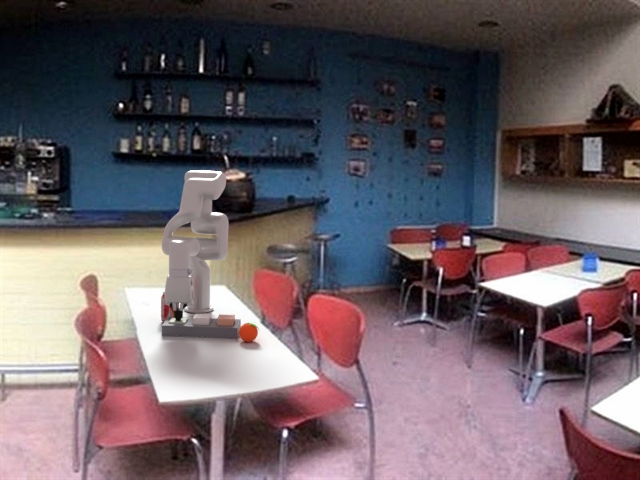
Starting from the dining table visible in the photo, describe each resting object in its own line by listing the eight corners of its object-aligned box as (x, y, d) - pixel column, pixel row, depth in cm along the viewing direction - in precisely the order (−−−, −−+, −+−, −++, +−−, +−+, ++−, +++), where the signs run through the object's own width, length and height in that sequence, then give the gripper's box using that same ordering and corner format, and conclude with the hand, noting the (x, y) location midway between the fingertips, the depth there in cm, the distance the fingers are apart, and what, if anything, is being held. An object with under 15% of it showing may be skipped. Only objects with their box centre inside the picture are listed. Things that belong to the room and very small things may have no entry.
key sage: (172, 326, 243) (172, 317, 243) (187, 326, 243) (187, 318, 243) (168, 330, 237) (168, 321, 237) (184, 331, 238) (184, 322, 237)
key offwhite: (195, 322, 243) (195, 313, 243) (211, 323, 243) (211, 314, 243) (192, 326, 237) (193, 317, 237) (208, 327, 237) (209, 318, 237)
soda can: (174, 324, 249) (174, 295, 247) (157, 323, 251) (158, 293, 249) (181, 320, 256) (182, 291, 254) (165, 318, 257) (165, 290, 256)
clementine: (263, 340, 234) (263, 322, 233) (255, 345, 228) (255, 326, 227) (243, 337, 237) (244, 319, 236) (235, 342, 230) (235, 323, 229)
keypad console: (168, 326, 246) (168, 316, 246) (240, 329, 247) (240, 319, 246) (161, 335, 234) (161, 325, 234) (237, 338, 235) (237, 328, 235)
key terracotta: (219, 323, 243) (219, 314, 243) (234, 323, 244) (234, 315, 243) (216, 327, 238) (217, 318, 237) (232, 328, 238) (233, 319, 237)
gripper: (200, 271, 241) (199, 318, 244) (161, 270, 241) (161, 316, 243) (197, 275, 234) (196, 323, 236) (156, 273, 233) (156, 322, 236)
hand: (178, 320), depth 240 cm, fingers closed
